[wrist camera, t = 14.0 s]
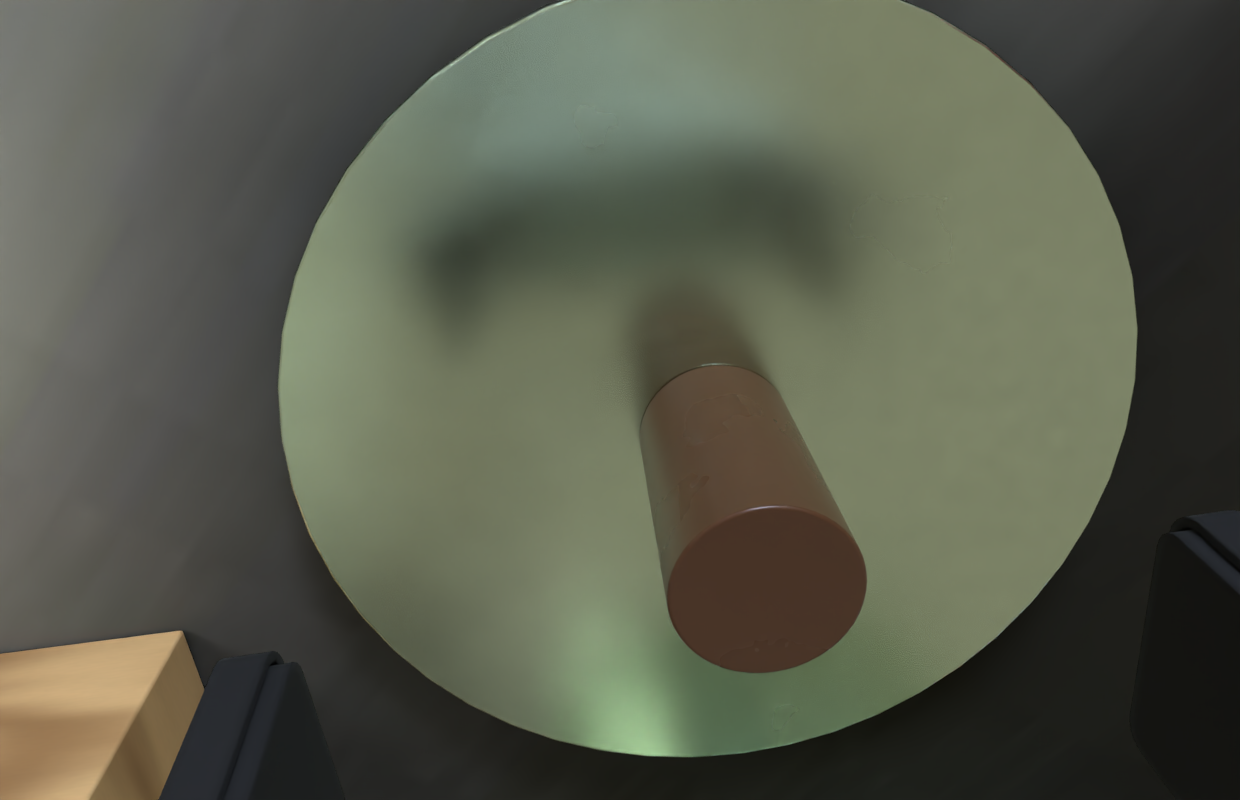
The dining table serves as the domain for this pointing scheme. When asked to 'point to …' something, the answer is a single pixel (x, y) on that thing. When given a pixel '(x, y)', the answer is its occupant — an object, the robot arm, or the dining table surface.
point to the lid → (707, 367)
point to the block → (95, 718)
